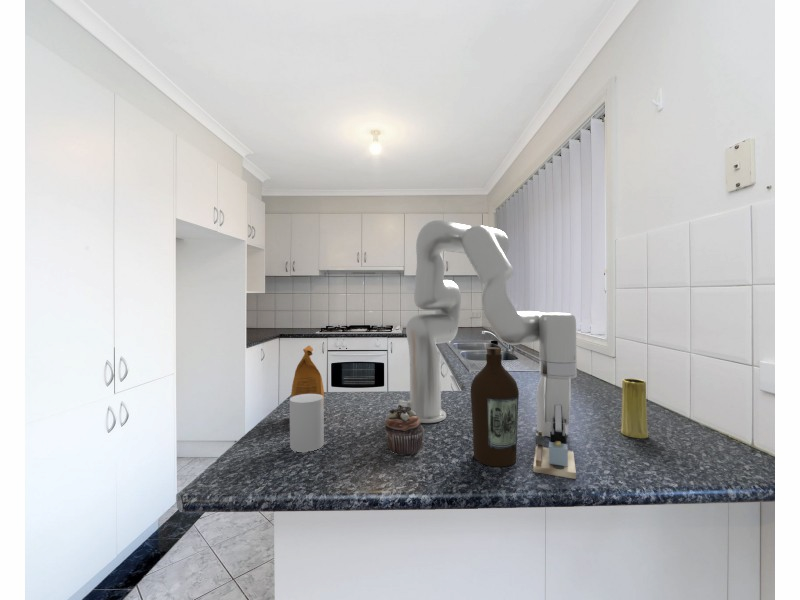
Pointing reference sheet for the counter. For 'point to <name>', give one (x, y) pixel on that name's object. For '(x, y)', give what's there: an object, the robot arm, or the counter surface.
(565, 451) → the blue block with knob
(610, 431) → the counter surface
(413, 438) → the cupcake
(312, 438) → the cup
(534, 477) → the counter surface
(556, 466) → the board
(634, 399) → the vase
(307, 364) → the coffee package
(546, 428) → the milk bottle
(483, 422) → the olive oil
